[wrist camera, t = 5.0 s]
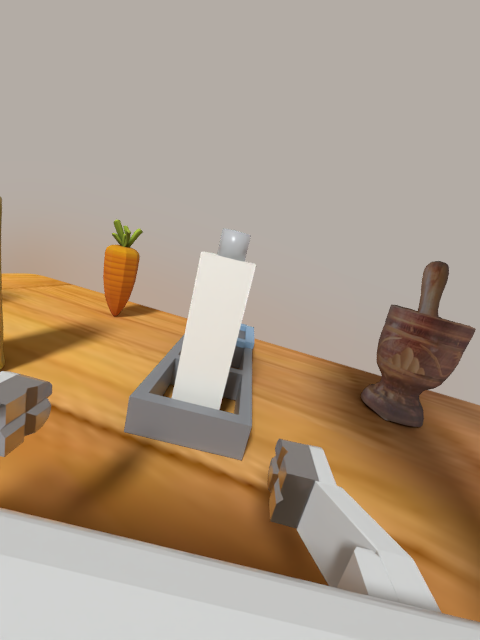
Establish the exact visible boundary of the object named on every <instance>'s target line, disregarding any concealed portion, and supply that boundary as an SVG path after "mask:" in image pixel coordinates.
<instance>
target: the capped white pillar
mask: <svg viewBox="0 0 480 640" xmlns="http://www.w3.org/2000/svg"><path fill="white" fill-rule="evenodd" d="M250 237H251V236H250V235H248V234H245V233H242V232H238V231H234V230H230V229H223V230H222V235H221V240H220V245H219V249H218V254H213V253H209V252H201V256H200V261H199V266H198V271H197V275H196V280H195V285H194V291H193V295H192V301H191V305H190V311H189V316H188V320H187V325H186V330H185V335H184V340H183V345H182V350H181V355H180V360H179V365H178V370H177V375H176V380H175V385H174V390H173V395H172V399H176V400H180V401H184V402H188V403H192V404H196V405H201V406H205V407H209V408H213V409H217V410H219V409H220V405H221V401H222V397H223V393H224V389H225V385H226V382H227V378H228V374H229V370H230V366H231V362H232V358H233V354H234V350H235V346H236V342H237V338H238V334H239V330H240V326H241V322H242V318H243V315H244V311H245V307H246V303H247V299H248V294H249V291H250V287H251V283H252V279H253V275H254V271H255V267H256V264H254V263H249V262H245V258H246V254H247V249H248V245H249V241H250Z"/></svg>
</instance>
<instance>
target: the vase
mask: <svg viewBox="0 0 480 640" xmlns="http://www.w3.org/2000/svg"><path fill="white" fill-rule="evenodd" d="M1 216H2V198H1V197H0V370H1V369H2V368H3V366H4V364H5V358H4V353H3V313H2V292H1V289H2V281H1Z"/></svg>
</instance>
